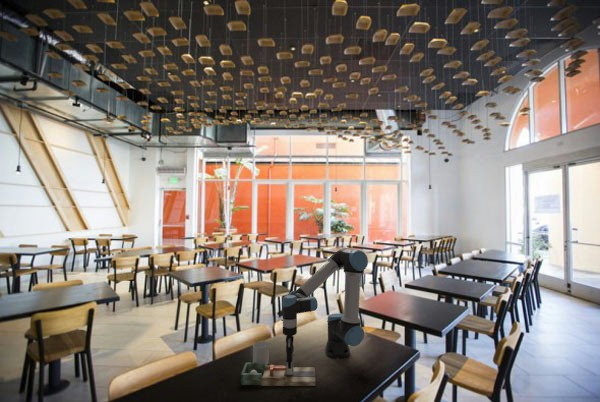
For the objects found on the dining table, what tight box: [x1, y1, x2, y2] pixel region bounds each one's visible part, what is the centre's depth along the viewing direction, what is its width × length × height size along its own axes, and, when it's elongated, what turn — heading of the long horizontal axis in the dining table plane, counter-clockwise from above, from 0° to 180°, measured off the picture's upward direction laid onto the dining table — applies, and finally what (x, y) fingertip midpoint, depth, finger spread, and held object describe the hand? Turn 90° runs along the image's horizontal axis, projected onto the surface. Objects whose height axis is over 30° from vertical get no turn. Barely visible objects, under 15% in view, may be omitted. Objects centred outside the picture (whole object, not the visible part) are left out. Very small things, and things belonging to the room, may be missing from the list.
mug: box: [252, 341, 270, 365], centre depth 168 cm, size 12×9×11 cm
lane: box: [240, 361, 317, 387], centre depth 152 cm, size 38×14×5 cm, turn 89°
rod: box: [270, 345, 295, 376], centre depth 152 cm, size 12×5×14 cm, turn 89°
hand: (289, 371), depth 152 cm, fingers open, 4 cm apart
